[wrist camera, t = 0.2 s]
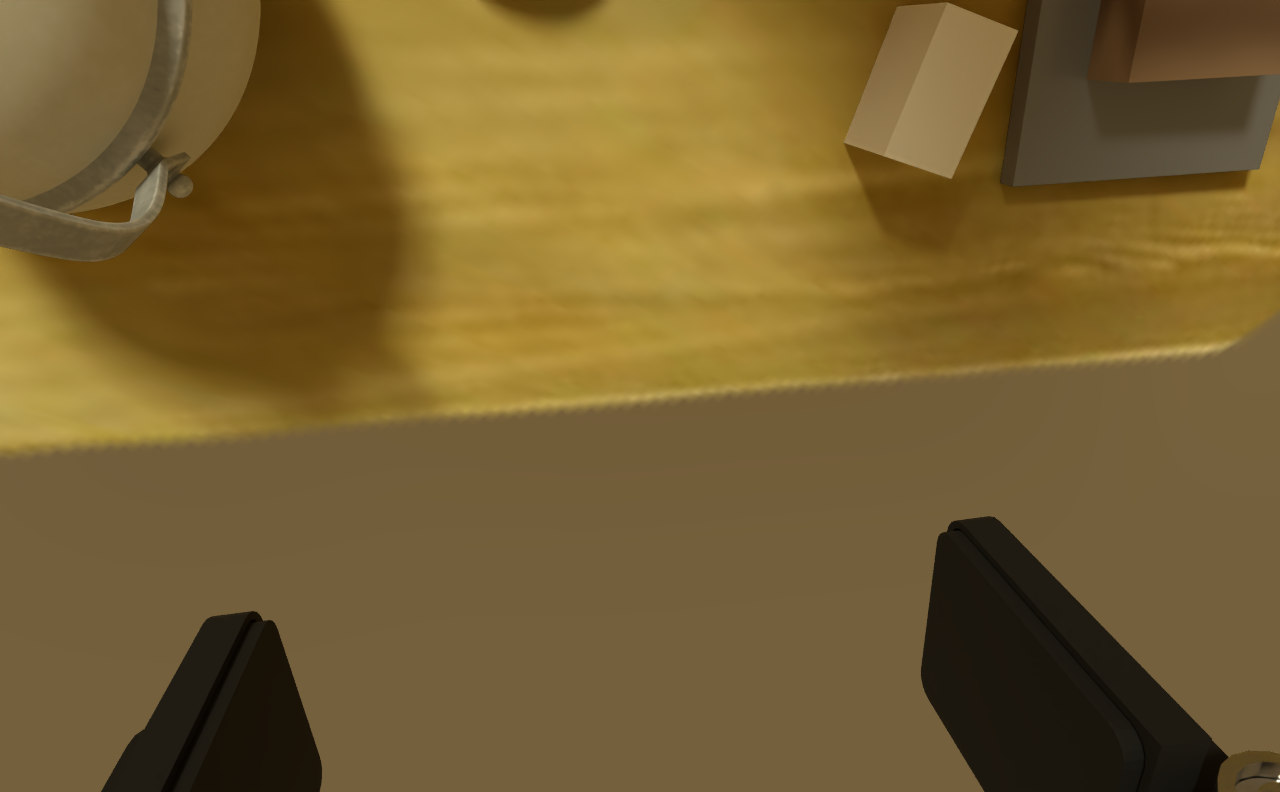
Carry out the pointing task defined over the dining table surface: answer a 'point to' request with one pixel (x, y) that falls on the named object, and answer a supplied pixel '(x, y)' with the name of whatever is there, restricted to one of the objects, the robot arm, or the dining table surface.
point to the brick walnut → (1185, 40)
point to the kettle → (110, 111)
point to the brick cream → (930, 85)
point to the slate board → (1122, 112)
